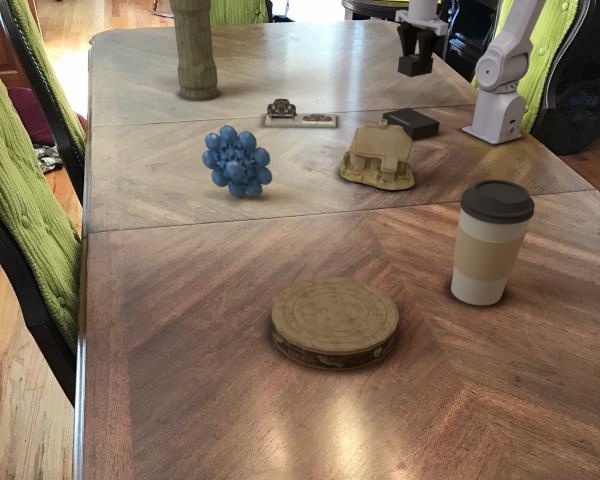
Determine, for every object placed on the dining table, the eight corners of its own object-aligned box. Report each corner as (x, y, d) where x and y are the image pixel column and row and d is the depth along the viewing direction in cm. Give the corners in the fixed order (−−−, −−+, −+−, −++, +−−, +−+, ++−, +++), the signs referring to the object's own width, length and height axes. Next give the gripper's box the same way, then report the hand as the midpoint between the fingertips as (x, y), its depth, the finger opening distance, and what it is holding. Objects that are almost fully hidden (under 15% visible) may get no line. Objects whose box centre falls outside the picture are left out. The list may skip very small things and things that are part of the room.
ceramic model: (419, 169, 115) (427, 113, 108) (411, 194, 107) (419, 136, 100) (346, 160, 118) (349, 105, 111) (332, 184, 110) (335, 127, 103)
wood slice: (246, 329, 79) (244, 310, 77) (331, 282, 87) (332, 263, 85) (336, 389, 71) (338, 370, 68) (421, 331, 79) (425, 312, 77)
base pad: (437, 134, 128) (439, 121, 126) (411, 141, 125) (413, 128, 123) (407, 119, 134) (408, 107, 132) (381, 125, 131) (382, 112, 129)
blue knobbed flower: (201, 207, 103) (193, 134, 95) (208, 189, 108) (201, 118, 100) (270, 210, 102) (268, 137, 94) (274, 192, 107) (272, 121, 99)
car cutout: (264, 126, 130) (264, 103, 127) (266, 115, 135) (266, 93, 132) (335, 127, 130) (336, 105, 127) (335, 116, 135) (336, 94, 131)
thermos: (225, 100, 142) (211, -94, 118) (173, 101, 141) (148, -94, 117) (225, 87, 148) (211, -99, 124) (175, 88, 147) (152, -99, 123)
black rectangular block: (431, 73, 135) (433, 57, 133) (410, 77, 133) (412, 61, 131) (418, 67, 138) (420, 52, 136) (397, 72, 135) (399, 56, 133)
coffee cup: (462, 266, 90) (484, 166, 80) (520, 289, 86) (551, 185, 76) (431, 293, 85) (450, 189, 75) (491, 318, 81) (520, 212, 70)
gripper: (463, -4, 122) (451, 71, 131) (417, -16, 131) (408, 54, 140) (436, 0, 119) (426, 76, 129) (390, -13, 128) (384, 59, 137)
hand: (415, 65), depth 134 cm, fingers closed on black rectangular block, 4 cm apart
